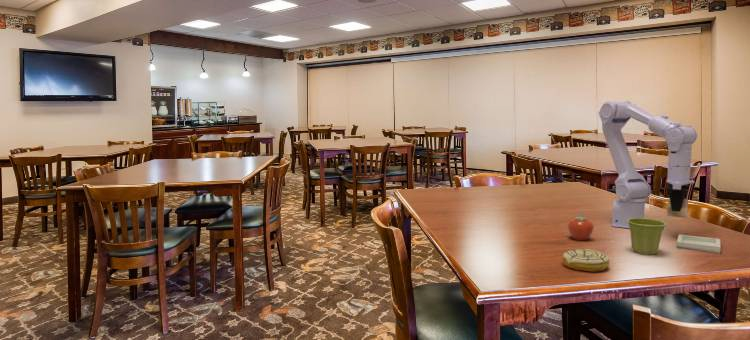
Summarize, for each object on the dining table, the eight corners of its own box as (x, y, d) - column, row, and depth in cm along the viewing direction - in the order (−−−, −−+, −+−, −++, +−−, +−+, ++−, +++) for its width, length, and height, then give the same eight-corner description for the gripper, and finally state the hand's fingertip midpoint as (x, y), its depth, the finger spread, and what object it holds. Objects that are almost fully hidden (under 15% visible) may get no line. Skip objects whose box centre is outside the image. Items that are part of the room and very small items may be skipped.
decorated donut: (561, 259, 123) (561, 245, 122) (605, 262, 119) (605, 248, 119) (564, 271, 113) (564, 256, 113) (612, 275, 110) (612, 260, 109)
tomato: (570, 234, 147) (570, 210, 146) (595, 237, 143) (596, 212, 142) (564, 239, 141) (565, 214, 140) (590, 243, 137) (591, 217, 136)
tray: (676, 247, 130) (676, 241, 130) (678, 240, 138) (678, 234, 138) (720, 253, 125) (720, 247, 124) (719, 244, 133) (719, 238, 132)
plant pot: (659, 248, 130) (661, 218, 129) (668, 258, 121) (670, 226, 120) (623, 246, 133) (624, 217, 132) (629, 255, 124) (630, 224, 123)
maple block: (667, 215, 140) (668, 200, 139) (668, 213, 144) (669, 197, 143) (686, 217, 137) (687, 201, 136) (687, 214, 141) (688, 199, 140)
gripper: (694, 168, 131) (691, 215, 132) (695, 164, 142) (693, 206, 144) (665, 167, 135) (663, 212, 136) (669, 163, 146) (666, 204, 148)
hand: (676, 209), depth 140 cm, fingers closed on maple block, 5 cm apart
